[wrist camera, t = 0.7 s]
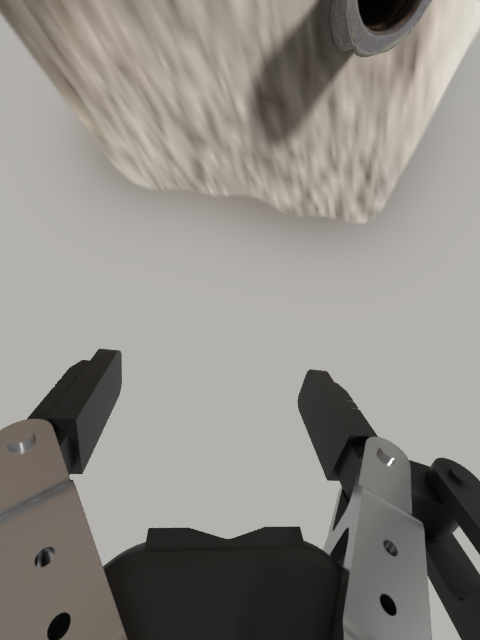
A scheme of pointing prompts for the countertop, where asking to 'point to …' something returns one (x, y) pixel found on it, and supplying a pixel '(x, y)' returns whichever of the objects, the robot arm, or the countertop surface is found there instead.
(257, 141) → the countertop surface
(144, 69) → the countertop surface
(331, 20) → the pipe
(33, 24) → the countertop surface
